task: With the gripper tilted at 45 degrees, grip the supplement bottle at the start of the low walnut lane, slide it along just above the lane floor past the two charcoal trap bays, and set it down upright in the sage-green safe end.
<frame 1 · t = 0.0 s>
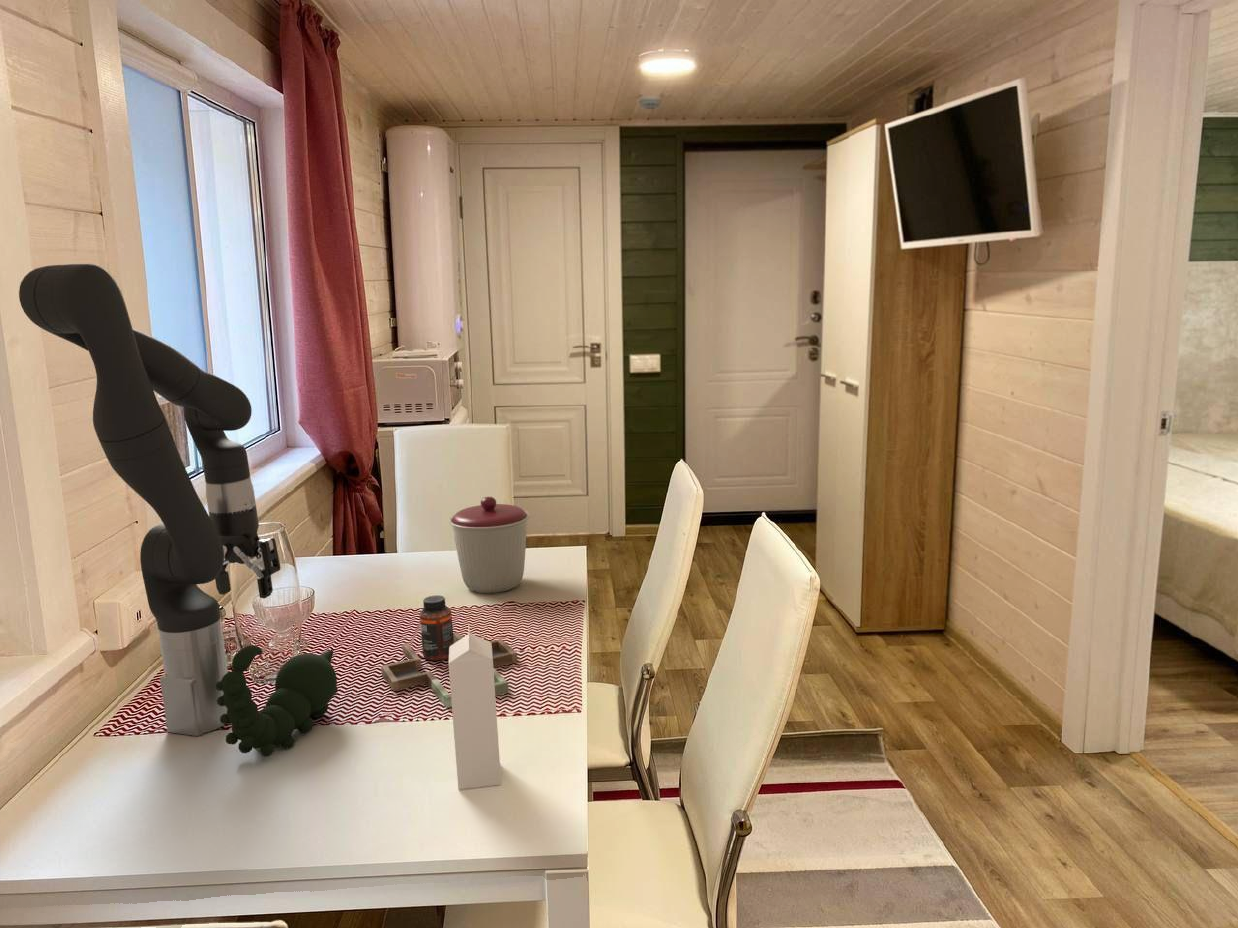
hand: (245, 594, 162), 17 cm above the table, tool pointing down, fingers open, 8 cm apart
toy figurine: (290, 735, 148), on the table
milk: (479, 777, 133), on the table
canister: (494, 587, 214), on the table
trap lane: (450, 668, 170), on the table
supplement bottle: (439, 656, 176), on the table
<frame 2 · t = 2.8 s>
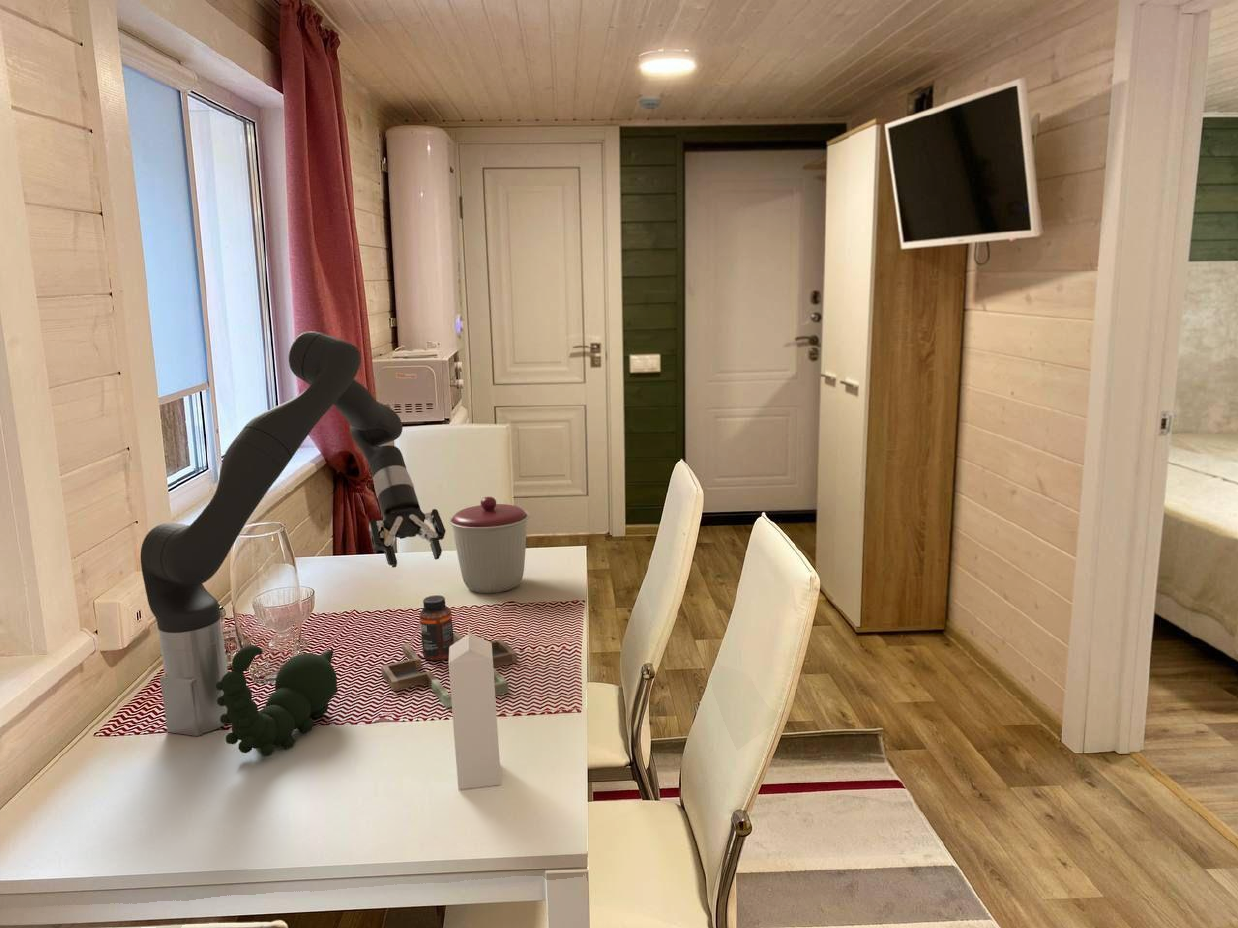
hand: (416, 561, 182), 16 cm above the table, tool tilted 45°, fingers open, 8 cm apart
nothing on the table moved.
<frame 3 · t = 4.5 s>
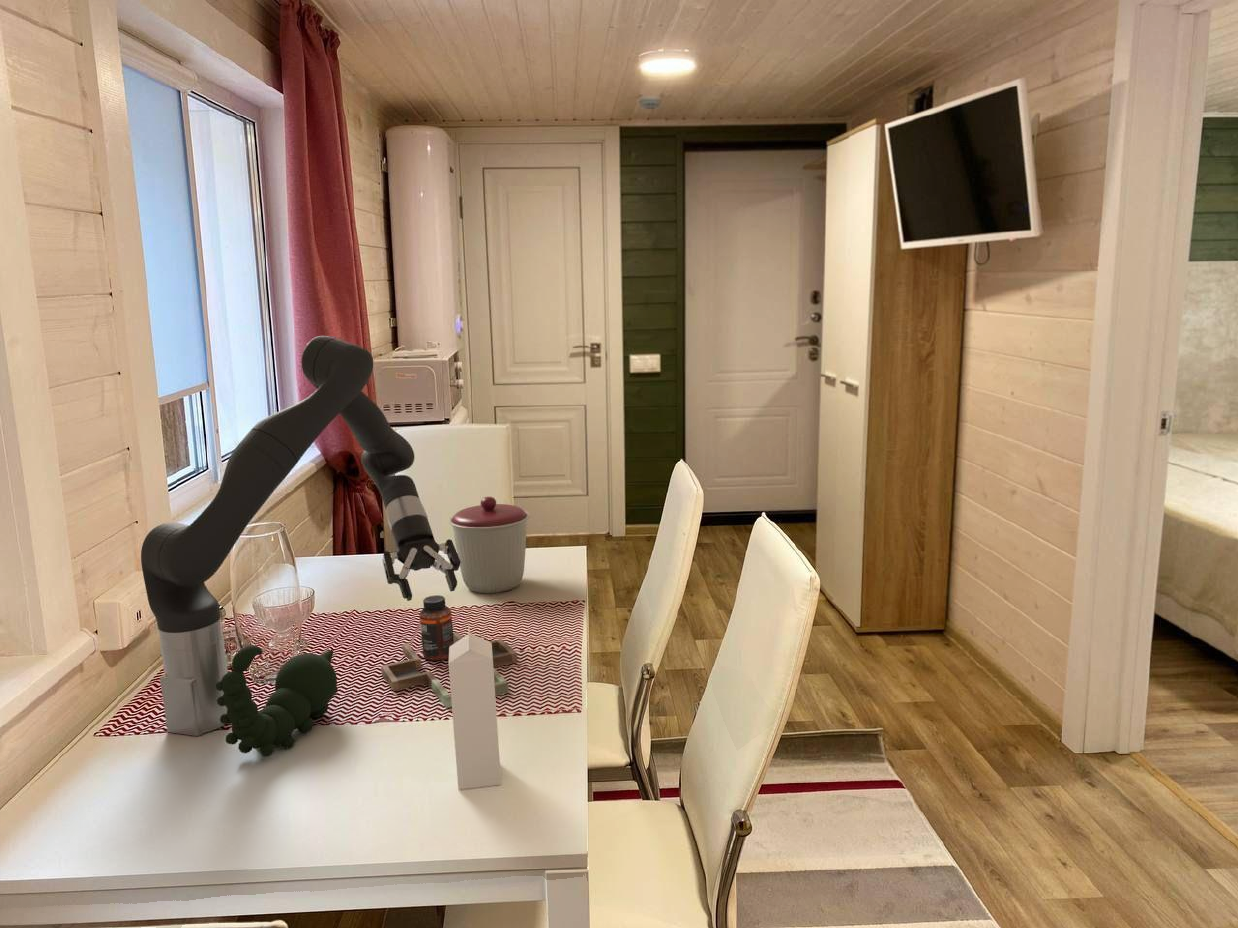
hand: (431, 594, 179), 11 cm above the table, tool tilted 45°, fingers open, 8 cm apart
nothing on the table moved.
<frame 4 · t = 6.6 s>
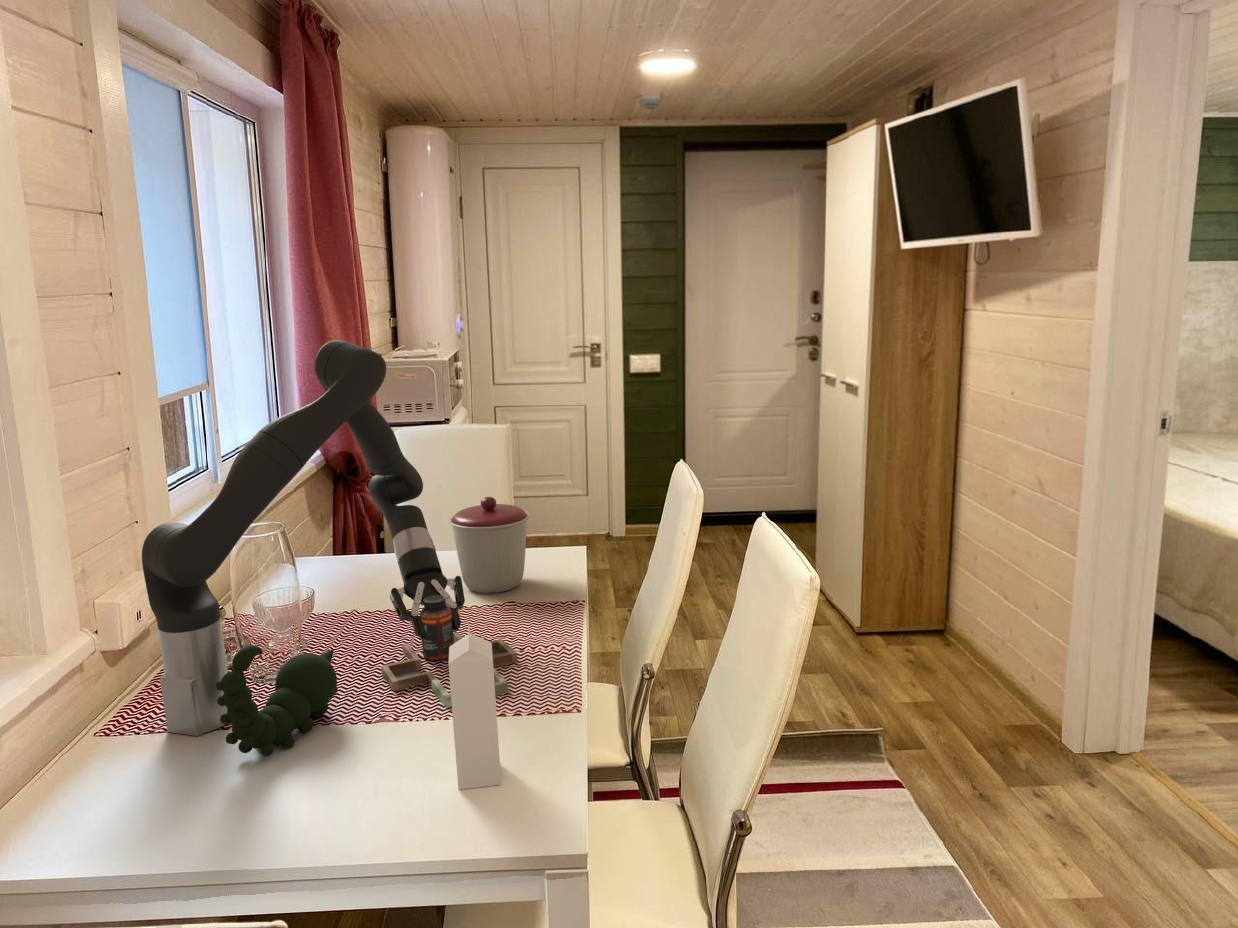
hand: (439, 632, 174), 5 cm above the table, tool tilted 45°, fingers closed on supplement bottle, 6 cm apart
supplement bottle: (439, 656, 176), on the table, touching gripper
everything else where it was.
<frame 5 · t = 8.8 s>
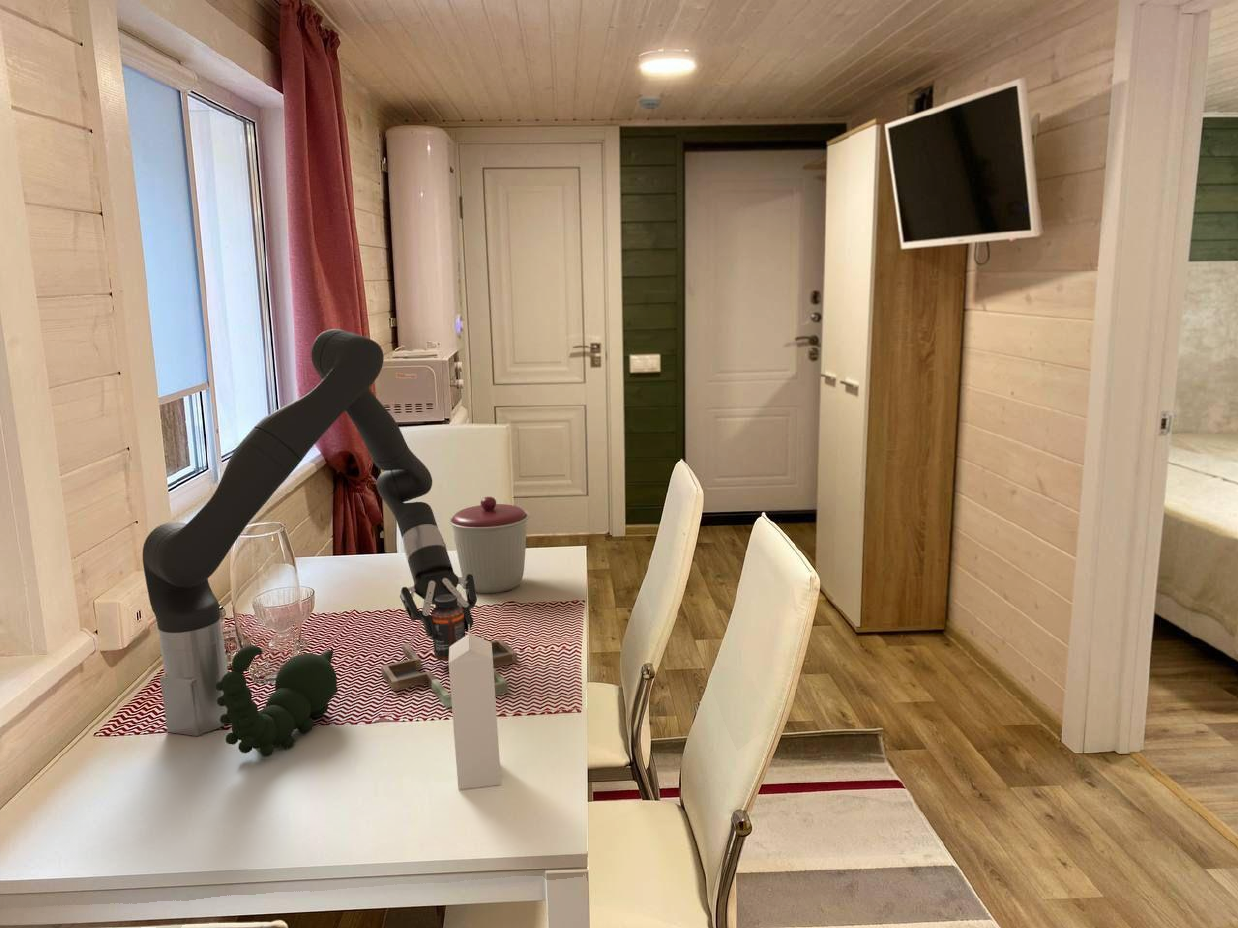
hand: (451, 632, 169), 7 cm above the table, tool tilted 45°, fingers closed on supplement bottle, 6 cm apart
supplement bottle: (450, 656, 172), point 1 cm above the table, touching gripper
everything else where it was.
when the fingers open (6 cm above the table, at t = 11.4 s): supplement bottle stays where it is, on the table.
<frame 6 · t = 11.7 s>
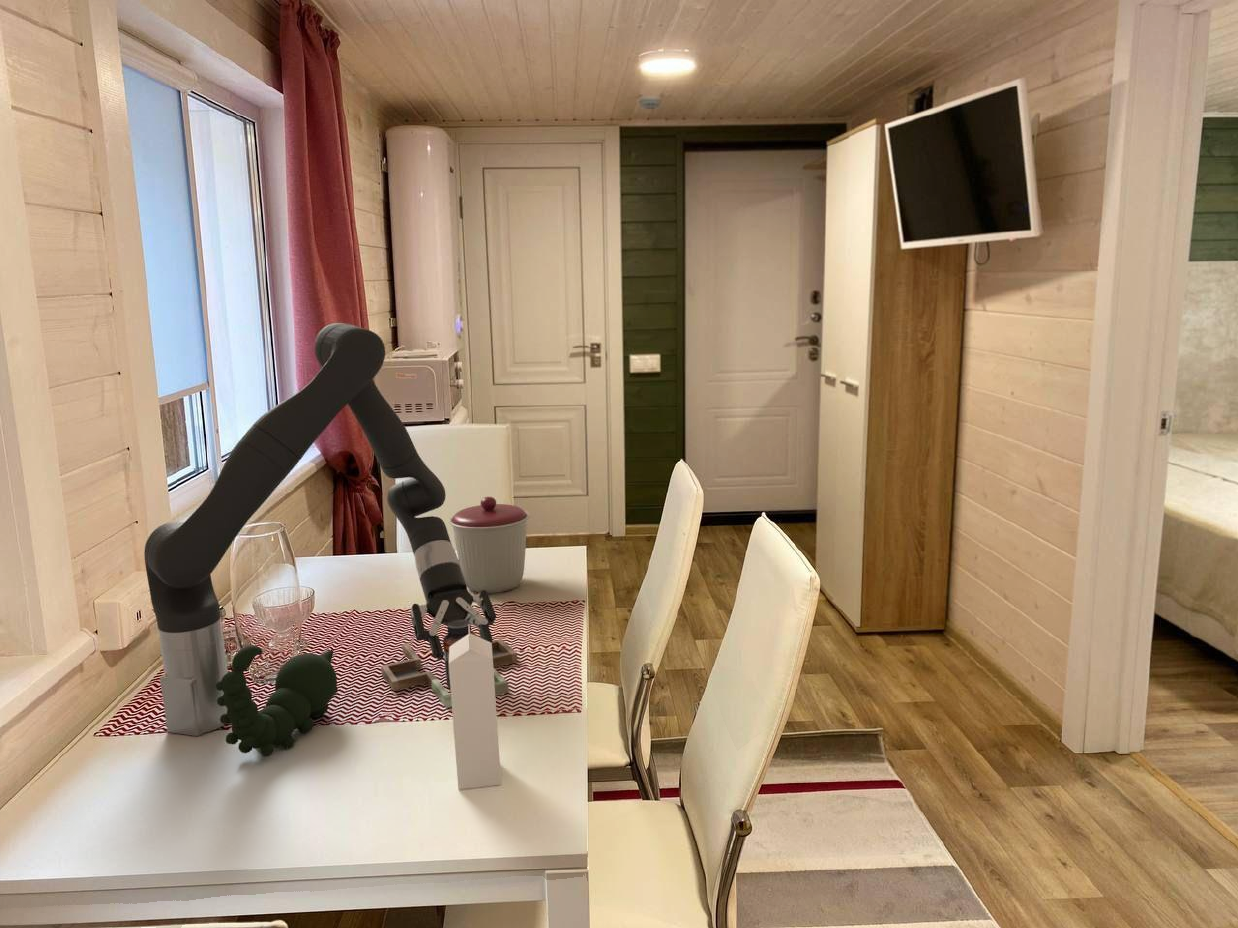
hand: (464, 652, 161), 6 cm above the table, tool tilted 45°, fingers open, 8 cm apart
supplement bottle: (464, 685, 163), on the table
everything else where it was.
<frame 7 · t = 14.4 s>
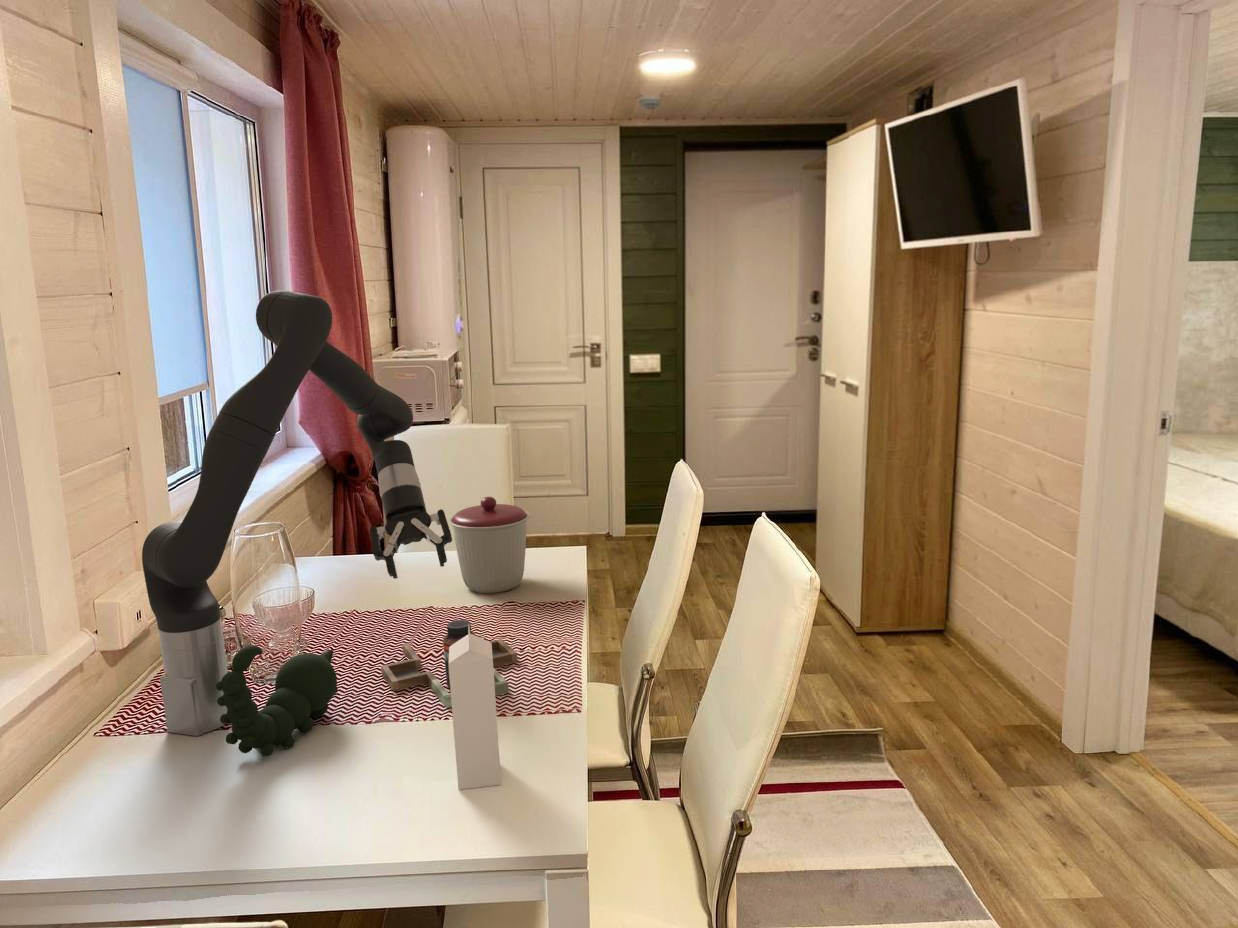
hand: (418, 571, 169), 18 cm above the table, tool tilted 40°, fingers open, 8 cm apart
nothing on the table moved.
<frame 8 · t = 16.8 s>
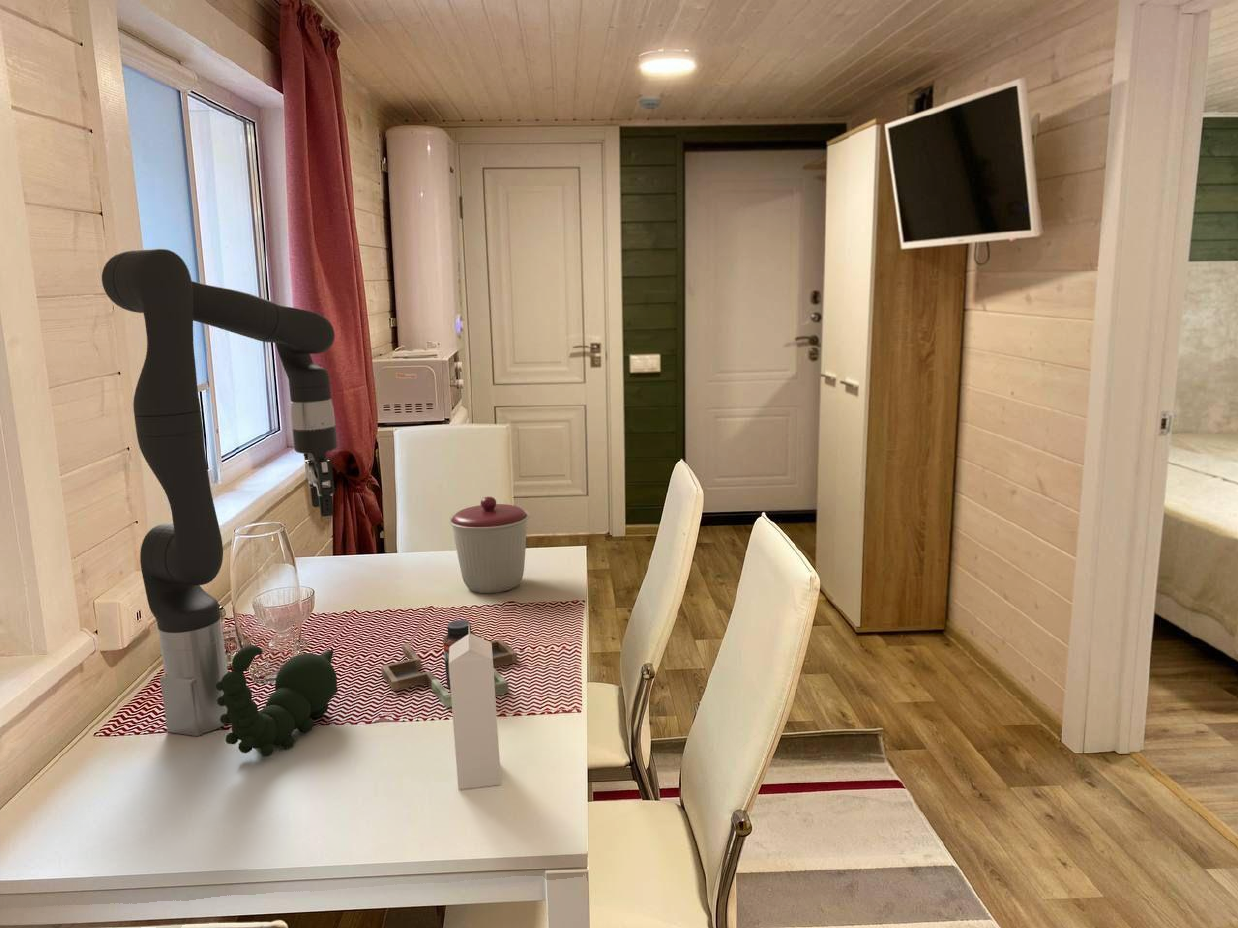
hand: (322, 510, 174), 28 cm above the table, tool pointing down, fingers open, 8 cm apart
nothing on the table moved.
at the end: supplement bottle inside the target area (0.3 cm from its centre), on the table; supplement bottle tilted 0°; the gripper is holding nothing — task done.
